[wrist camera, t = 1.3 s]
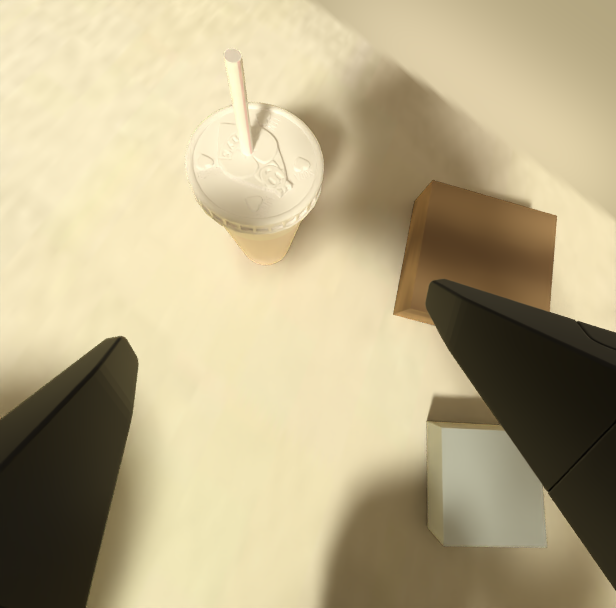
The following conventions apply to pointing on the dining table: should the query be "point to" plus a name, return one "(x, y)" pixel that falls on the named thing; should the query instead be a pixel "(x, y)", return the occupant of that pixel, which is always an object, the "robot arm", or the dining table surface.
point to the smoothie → (254, 170)
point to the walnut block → (475, 249)
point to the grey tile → (481, 488)
